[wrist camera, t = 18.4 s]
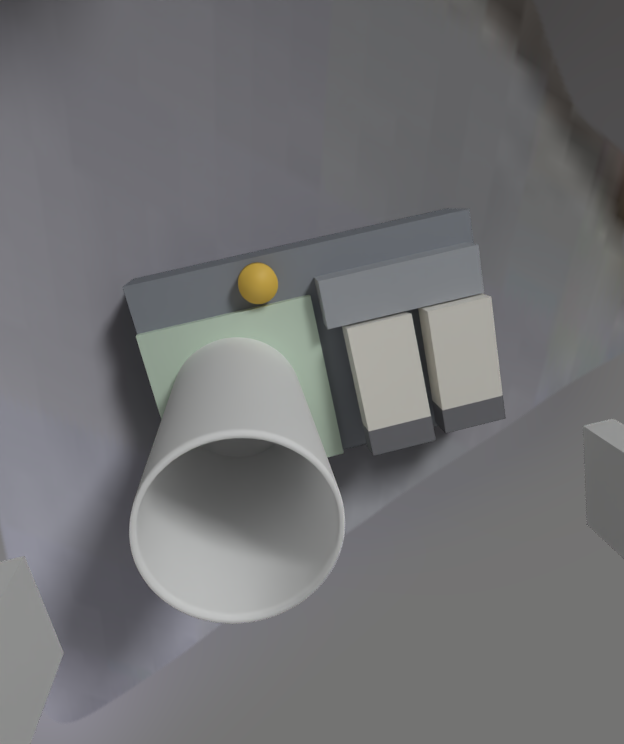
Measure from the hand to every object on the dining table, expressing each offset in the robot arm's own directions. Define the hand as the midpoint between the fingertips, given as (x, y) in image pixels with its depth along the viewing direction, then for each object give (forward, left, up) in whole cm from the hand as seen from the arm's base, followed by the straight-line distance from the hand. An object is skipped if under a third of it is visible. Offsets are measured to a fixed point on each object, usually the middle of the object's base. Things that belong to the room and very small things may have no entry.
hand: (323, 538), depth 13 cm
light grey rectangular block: (+1, +7, -22) cm, 23 cm away
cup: (+4, -3, -24) cm, 25 cm away
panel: (+3, +3, -28) cm, 29 cm away
